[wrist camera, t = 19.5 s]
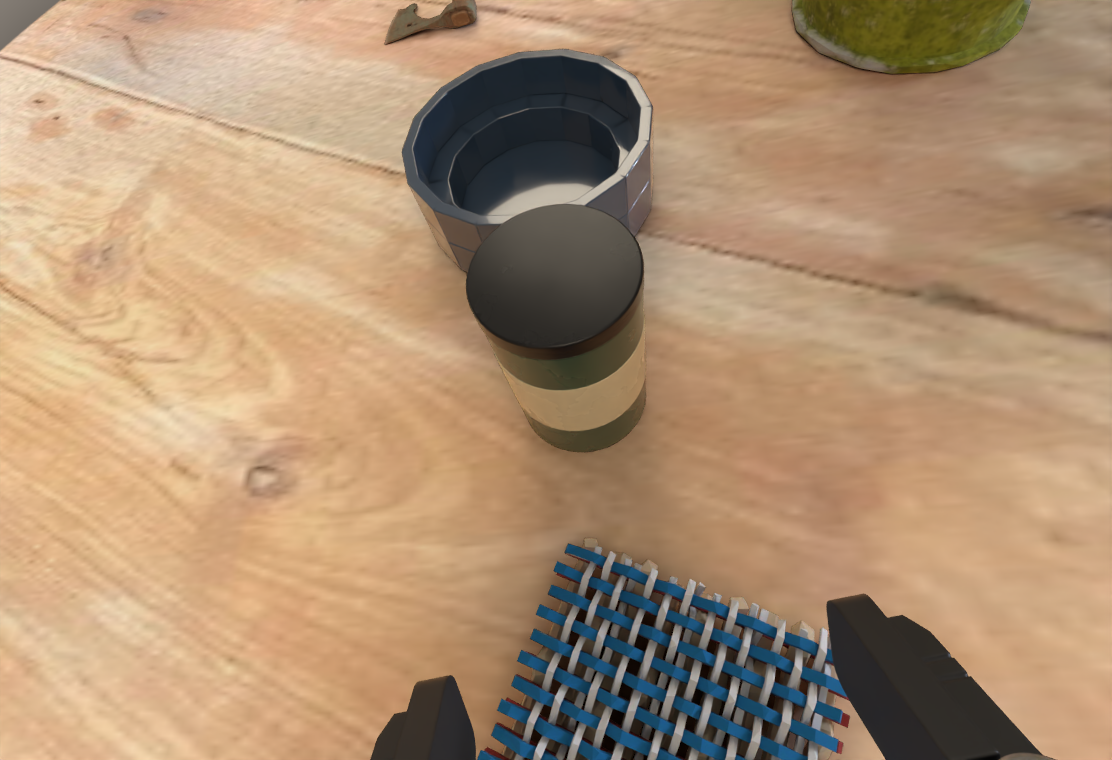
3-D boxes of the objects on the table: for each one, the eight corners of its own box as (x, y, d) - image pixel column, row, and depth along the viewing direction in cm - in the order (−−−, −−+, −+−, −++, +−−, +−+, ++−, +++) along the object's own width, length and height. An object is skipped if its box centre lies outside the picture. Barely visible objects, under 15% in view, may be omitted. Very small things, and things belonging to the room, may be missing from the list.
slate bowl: (509, 111, 36) (489, 33, 31) (689, 158, 31) (694, 74, 27) (396, 250, 32) (354, 182, 27) (584, 325, 27) (571, 258, 23)
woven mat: (786, 1031, 15) (803, 1078, 14) (459, 827, 19) (438, 843, 17) (857, 646, 19) (878, 643, 18) (575, 534, 23) (569, 521, 21)
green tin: (561, 325, 27) (523, 185, 20) (668, 368, 25) (675, 231, 18) (499, 421, 26) (430, 308, 18) (610, 476, 24) (588, 376, 16)
